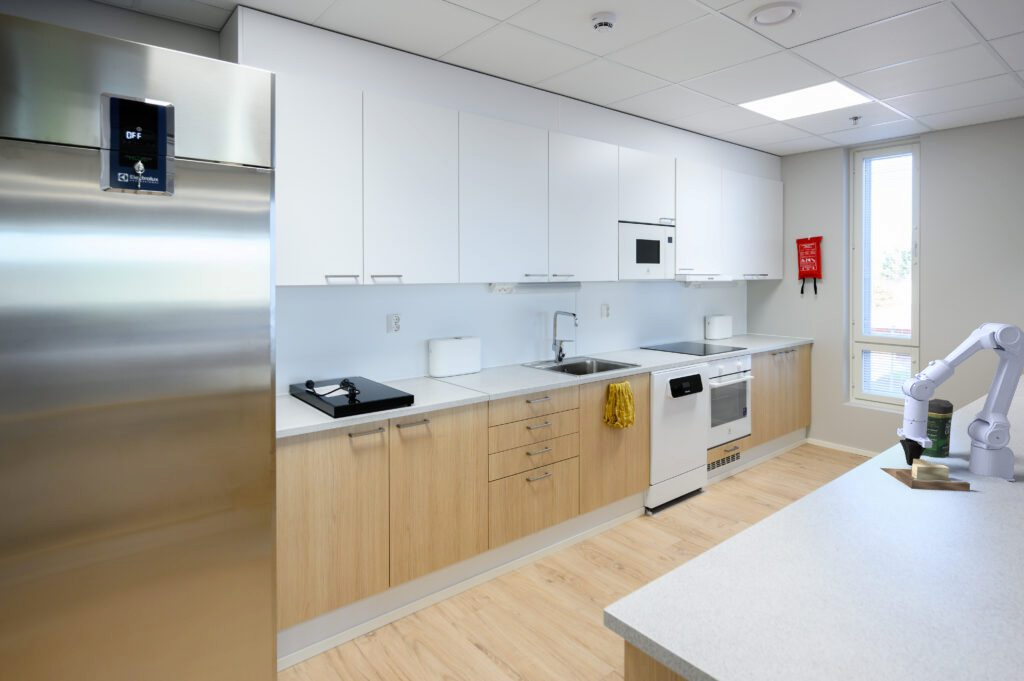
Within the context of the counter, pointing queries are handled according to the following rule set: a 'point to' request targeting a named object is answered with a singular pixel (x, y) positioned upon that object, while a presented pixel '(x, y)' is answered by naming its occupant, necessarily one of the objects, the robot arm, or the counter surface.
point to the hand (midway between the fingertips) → (911, 465)
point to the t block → (929, 470)
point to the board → (925, 481)
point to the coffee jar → (939, 428)
